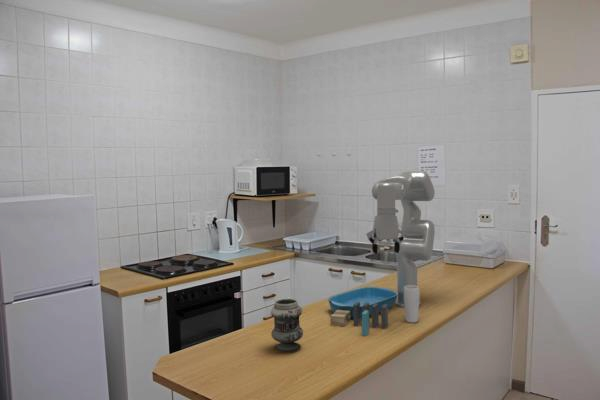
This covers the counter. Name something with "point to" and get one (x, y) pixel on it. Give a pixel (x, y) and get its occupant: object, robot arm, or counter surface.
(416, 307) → the drinking glass
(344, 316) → the oak block
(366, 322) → the domino teal
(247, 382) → the counter surface
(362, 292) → the casserole dish
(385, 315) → the domino
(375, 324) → the domino
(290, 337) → the apothecary jar
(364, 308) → the domino
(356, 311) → the domino
